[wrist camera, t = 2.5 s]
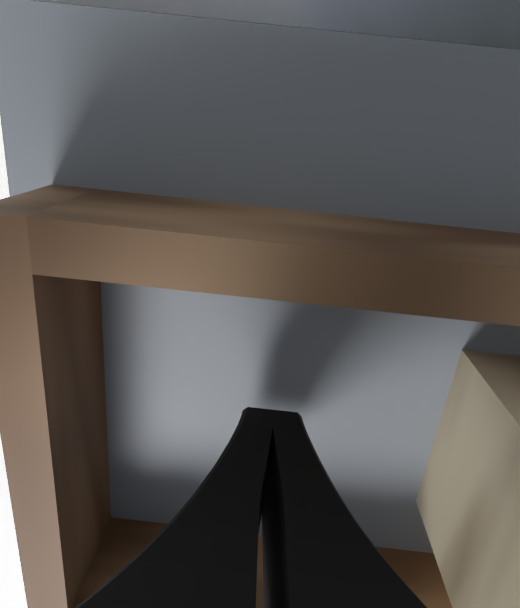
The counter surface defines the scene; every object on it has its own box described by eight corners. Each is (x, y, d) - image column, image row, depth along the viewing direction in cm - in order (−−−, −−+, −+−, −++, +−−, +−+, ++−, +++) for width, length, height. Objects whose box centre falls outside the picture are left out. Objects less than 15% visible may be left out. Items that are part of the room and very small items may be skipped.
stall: (700, 252, 10) (858, 304, 7) (536, 588, 14) (597, 701, 12) (51, 184, 10) (-35, 210, 7) (80, 537, 14) (32, 637, 12)
